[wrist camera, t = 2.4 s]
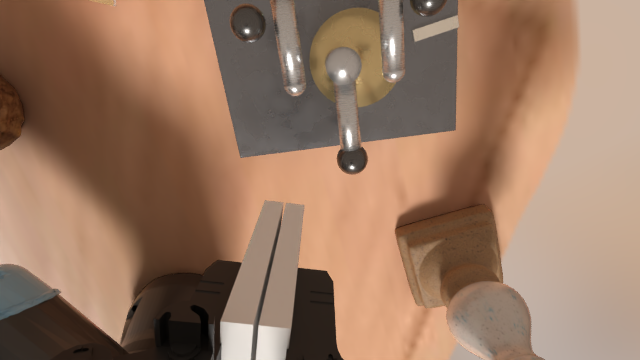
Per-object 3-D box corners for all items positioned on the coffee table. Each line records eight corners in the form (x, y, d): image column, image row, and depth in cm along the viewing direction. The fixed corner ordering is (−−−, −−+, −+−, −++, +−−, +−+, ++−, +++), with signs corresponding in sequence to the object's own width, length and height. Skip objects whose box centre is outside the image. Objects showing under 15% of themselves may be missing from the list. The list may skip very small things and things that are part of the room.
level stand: (244, 152, 36) (235, 164, 32) (207, -15, 30) (191, -24, 27) (448, 125, 35) (464, 135, 31) (450, -53, 29) (469, -68, 25)
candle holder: (393, 228, 40) (486, 456, 17) (485, 202, 38) (713, 413, 16) (412, 297, 43) (509, 558, 21) (497, 276, 42) (695, 530, 20)
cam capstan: (276, 155, 34) (261, 190, 26) (247, 4, 29) (217, -15, 20) (418, 137, 33) (451, 167, 25) (414, -22, 28) (454, -52, 20)
